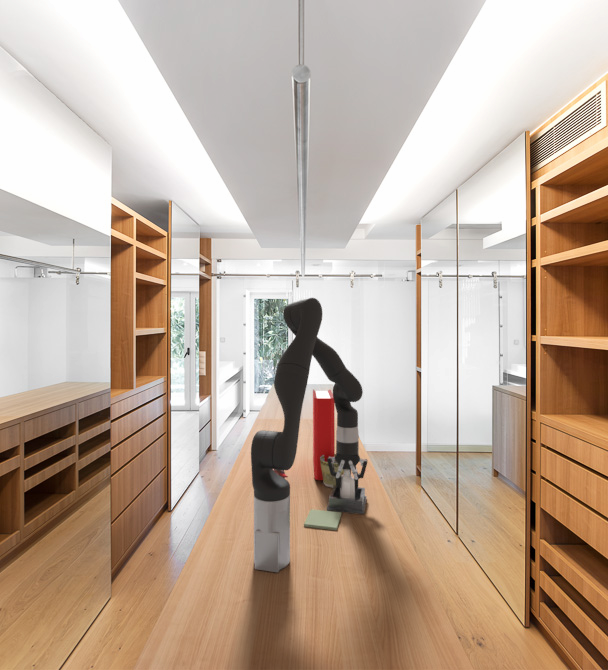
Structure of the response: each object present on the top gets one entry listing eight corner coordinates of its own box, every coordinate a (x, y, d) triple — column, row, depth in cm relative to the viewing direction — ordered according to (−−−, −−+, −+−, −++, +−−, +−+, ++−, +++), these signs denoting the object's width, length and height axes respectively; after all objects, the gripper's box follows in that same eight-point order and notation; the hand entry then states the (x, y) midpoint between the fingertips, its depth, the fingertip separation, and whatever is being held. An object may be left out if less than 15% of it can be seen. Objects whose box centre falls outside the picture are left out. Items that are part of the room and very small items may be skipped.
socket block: (363, 514, 126) (363, 502, 126) (327, 510, 129) (327, 498, 129) (366, 498, 138) (366, 487, 138) (332, 495, 140) (332, 484, 140)
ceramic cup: (325, 491, 144) (326, 464, 144) (315, 480, 154) (316, 455, 153) (357, 486, 148) (357, 460, 148) (345, 476, 158) (346, 451, 157)
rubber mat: (336, 530, 116) (336, 527, 116) (303, 526, 118) (303, 523, 118) (341, 514, 126) (341, 512, 126) (310, 511, 128) (310, 509, 128)
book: (313, 458, 181) (312, 389, 181) (330, 458, 181) (330, 389, 181) (314, 480, 153) (314, 398, 154) (334, 480, 153) (334, 398, 154)
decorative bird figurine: (277, 476, 159) (277, 451, 159) (291, 493, 142) (291, 465, 142) (270, 477, 158) (270, 452, 158) (284, 494, 141) (284, 466, 141)
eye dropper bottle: (342, 504, 130) (342, 468, 130) (339, 496, 136) (339, 462, 136) (355, 503, 131) (355, 467, 130) (351, 496, 136) (351, 462, 136)
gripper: (324, 440, 131) (324, 491, 131) (367, 443, 128) (367, 495, 128) (328, 434, 138) (328, 482, 138) (369, 437, 135) (369, 486, 135)
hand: (347, 488), depth 133 cm, fingers closed on eye dropper bottle, 4 cm apart
